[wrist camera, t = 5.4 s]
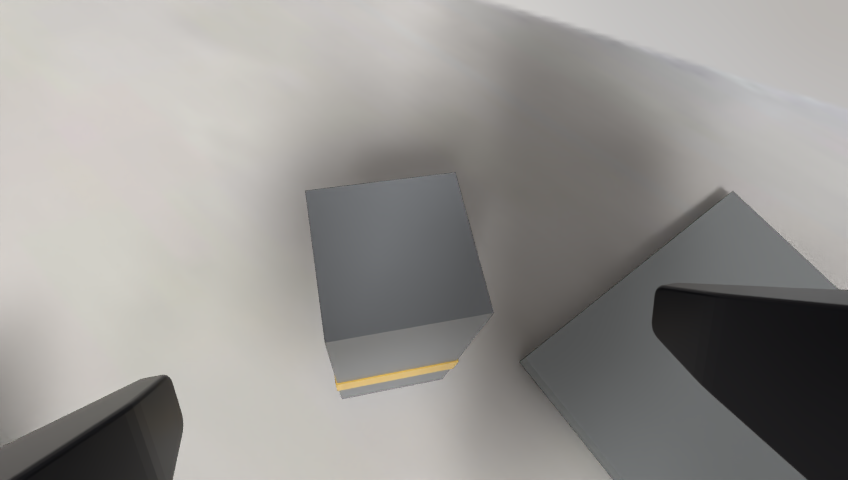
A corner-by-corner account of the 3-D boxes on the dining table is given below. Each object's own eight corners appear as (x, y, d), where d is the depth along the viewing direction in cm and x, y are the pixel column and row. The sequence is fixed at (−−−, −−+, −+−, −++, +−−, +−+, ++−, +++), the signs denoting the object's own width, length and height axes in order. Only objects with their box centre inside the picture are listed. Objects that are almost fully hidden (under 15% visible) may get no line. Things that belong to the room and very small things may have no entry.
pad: (794, 706, 17) (813, 717, 16) (519, 362, 21) (525, 357, 20) (974, 438, 21) (996, 436, 21) (722, 199, 25) (732, 190, 25)
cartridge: (443, 380, 20) (496, 314, 12) (340, 400, 19) (322, 345, 11) (422, 284, 22) (456, 170, 14) (327, 300, 21) (303, 189, 13)
